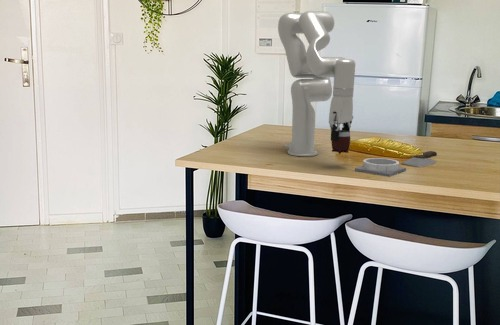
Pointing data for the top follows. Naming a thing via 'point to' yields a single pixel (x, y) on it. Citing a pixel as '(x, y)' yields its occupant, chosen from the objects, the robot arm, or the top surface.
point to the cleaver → (421, 160)
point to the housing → (380, 166)
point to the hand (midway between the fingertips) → (339, 139)
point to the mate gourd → (341, 142)
